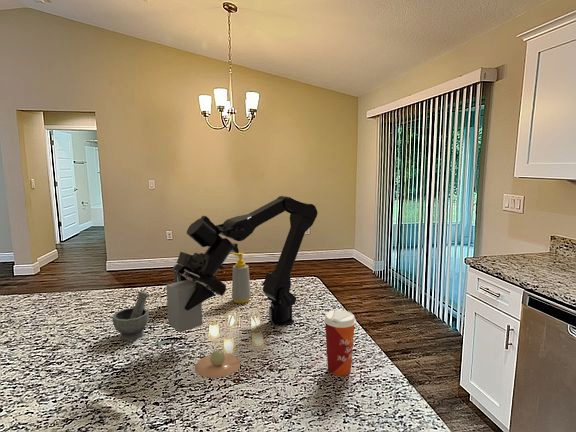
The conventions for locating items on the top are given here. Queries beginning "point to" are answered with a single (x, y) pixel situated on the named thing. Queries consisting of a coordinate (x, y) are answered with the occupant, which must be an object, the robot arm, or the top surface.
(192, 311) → the grey tall block
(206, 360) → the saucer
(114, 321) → the mortar and pestle
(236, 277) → the soap bottle
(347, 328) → the paper cup
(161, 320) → the top surface
